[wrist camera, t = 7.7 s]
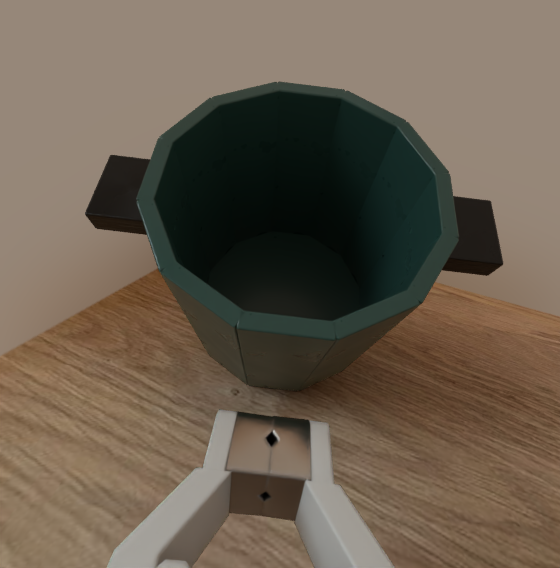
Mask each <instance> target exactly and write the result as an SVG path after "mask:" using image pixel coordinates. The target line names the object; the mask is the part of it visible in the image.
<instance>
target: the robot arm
mask: <svg viewBox="0 0 560 568" xmlns="http://www.w3.org/2000/svg"><path fill="white" fill-rule="evenodd" d="M229 513H235V514H246V515H257V516H266V517H272V518H279V519H286V520H292V521H295V525H296V527H297V529H298V532H299V534H300V536H301V538H302V541H303V543H304V545H305V548H306V550H307V552H308V554H309V557H310V559H311V561H312V563H313V566H314V568H395V567H394V565H393V564H392V562H391V561H390V559H389V558H388V556H387V555H386V553H385V552H384V550H383V549H382V547H381V546H380V544H379V543H378V541H377V539H376V538H375V536H374V535H373V533H372V532H371V530H370V529H369V527H368V526H367V524H366V523H365V521H364V520H363V518H362V517H361V515H360V514H359V512H358V511H357V509H356V508H355V506H354V505H353V503H352V502H351V500H350V499H349V497H348V496H347V494H346V493H345V491H344V490H343V488H342V487H341V485H339V484H334V473H333V462H332V450H331V438H330V426H329V424H328V423H327V422H319V421H309V420H305V419H296V418H287V417H277V416H273V417H270V416H264V415H257V414H250V413H244V412H237V411H229V410H221V409H219V411H218V413H217V415H216V419H215V422H214V426H213V430H212V434H211V437H210V441H209V445H208V449H207V452H206V456H205V460H204V464H203V467H202V468H200V467H196V468H195V469H194V470H193V471H192V472H191V473H190V474H189V475H188V476H187V477H186V478H185V479H184V480H183V481H182V482H181V483H180V484H179V485H178V486H177V487H176V488H175V489H174V490H173V491H172V492H171V493H170V494H169V495H168V496H167V497H166V498H165V499H164V500H163V501H162V502H161V504H160V505H159V506H158V507H157V508H156V509H155V510H154V511H153V512H152V513H151V514H150V515H149V516H148V517H147V518H146V519H145V520H144V521H143V522H142V523H141V524H140V525H139V526H138V527H137V528H136V529H135V530H134V531H133V532H132V533H131V534H130V535H129V536H128V537H127V538H126V539H125V540H124V541H123V542H122V543H121V544H120V545H119V546H118V547H117V548H116V549H115V550H114V552H113V554H112V556H111V559H110V561H109V564H108V566H107V568H192V566H193V565H194V563H195V562H196V561H197V559H198V558H199V556H200V555H201V554H202V552H203V551H204V549H205V548H206V547H207V545H208V544H209V542H210V541H211V540H212V538H213V537H214V535H215V534H216V533H217V531H218V530H219V528H220V527H221V526H222V524H223V523H224V521H225V520H226V519H227V517H228V516H229Z"/></svg>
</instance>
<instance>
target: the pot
mask: <svg viewBox="0 0 560 568" xmlns="http://www.w3.org/2000/svg"><path fill="white" fill-rule="evenodd" d="M448 173H449V171H448V170H447V169H446V168H445V166H444V165H443V164H442V163H441V162H440V160H439V159H438V158H437V157H436V155H435V154H434V153H433V152H432V151H431V149H430V148H429V147H428V146H427V144H426V143H425V142H424V141H423V140H422V138H421V137H420V136H419V135H418V133H417V132H416V131H415V130H414V129H413V127H412V126H411V125H410V124H409V123H408V122H406V120H404V119H402V118H400V117H398V116H396V115H394V114H393V113H390V112H388V111H387V110H385V109H383V108H381V107H379V106H377V105H375V104H373V103H371V102H369V101H367V100H365V99H363V98H361V97H359V96H357V95H355V94H353V93H351V92H349V91H345V90H344V89H343V90H342V89H335V88H327V87H319V86H311V85H302V84H294V83H285V82H278V83H277V82H273V83H268V84H264V85H260V86H256V87H252V88H247V89H243V90H239V91H235V92H231V93H226V94H222V95H218V96H214V97H212V98H209V99H208V100H206V101H205V102H204V103H202V104H201V105H200V106H199V107H197V108H196V109H195V110H193V111H192V112H191V113H189V114H188V115H187V116H186V117H184V118H183V119H182V120H180V121H179V122H178V123H177V124H176V125H174V126H173V127H171V128H170V129H169V130H167V131H166V132H165V133H164V134H162V135H161V136H160V138H158V140H157V143H156V146H155V148H154V151H153V154H152V157H151V159H141V158H133V157H125V156H117V155H110V157H109V159H108V162H107V164H106V166H105V169H104V171H103V173H102V175H101V178H100V180H99V182H98V185H97V187H96V189H95V191H94V194H93V196H92V198H91V201H90V203H89V205H88V208H87V210H86V212H85V215H86V216H87V217H88V219H89V220H90V221H91V223H92V224H93V225H94V226H95V228H97V229H104V230H113V231H120V232H128V233H137V234H145V235H147V236H148V239H149V242H150V245H151V248H152V251H153V254H154V257H155V260H156V263H157V266H158V269H159V272H160V273H161V275H162V277H163V278H164V280H165V282H166V283H167V285H168V287H169V288H170V290H171V292H172V293H173V295H174V297H175V299H176V300H177V302H178V304H179V305H180V307H181V309H182V310H183V312H184V314H185V315H186V317H187V319H188V320H189V322H190V324H191V325H192V327H193V329H194V330H195V332H196V334H197V335H198V337H199V339H200V340H201V342H202V344H203V346H204V347H205V349H206V351H207V352H208V354H209V355H210V356H211V357H212V358H213V359H214V360H216V361H217V362H218V363H220V364H221V365H222V366H223V367H225V368H226V369H227V370H228V371H230V372H231V373H232V374H234V375H235V376H236V377H237V378H239V379H240V380H241V381H243V382H244V383H245V384H246V385H249V386H256V387H265V388H273V389H282V390H290V391H300V390H302V389H305V388H307V387H309V386H311V385H313V384H315V383H318V382H320V381H322V380H324V379H326V378H328V377H331V376H333V375H335V374H337V373H339V372H341V371H343V370H344V369H345V368H346V367H347V366H349V365H350V364H351V363H352V362H353V361H354V360H356V359H357V358H358V357H359V356H360V355H361V354H363V353H364V352H365V351H366V350H367V349H369V348H370V347H371V346H372V345H373V344H374V343H376V342H377V341H378V340H379V339H380V338H382V337H383V336H384V335H385V334H386V333H387V332H389V331H390V330H391V329H392V328H393V327H394V326H396V325H397V324H398V323H399V322H400V321H402V320H403V319H404V318H405V317H406V316H407V315H409V314H410V313H411V312H412V311H413V310H415V309H416V308H417V307H418V306H419V305H420V304H422V303H423V301H424V300H425V298H426V296H427V294H428V293H429V291H430V289H431V288H432V286H433V284H434V282H435V281H436V279H437V277H438V276H439V274H440V272H441V270H445V271H452V272H461V273H469V274H477V275H486V276H487V275H489V274H491V273H492V272H494V271H495V270H496V269H498V268H499V267H500V266H502V265H503V260H502V254H501V249H500V244H499V239H498V234H497V229H496V224H495V219H494V214H493V209H492V204H491V201H488V200H480V199H472V198H464V197H455V196H453V192H452V184H451V177H450V174H448Z"/></svg>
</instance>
